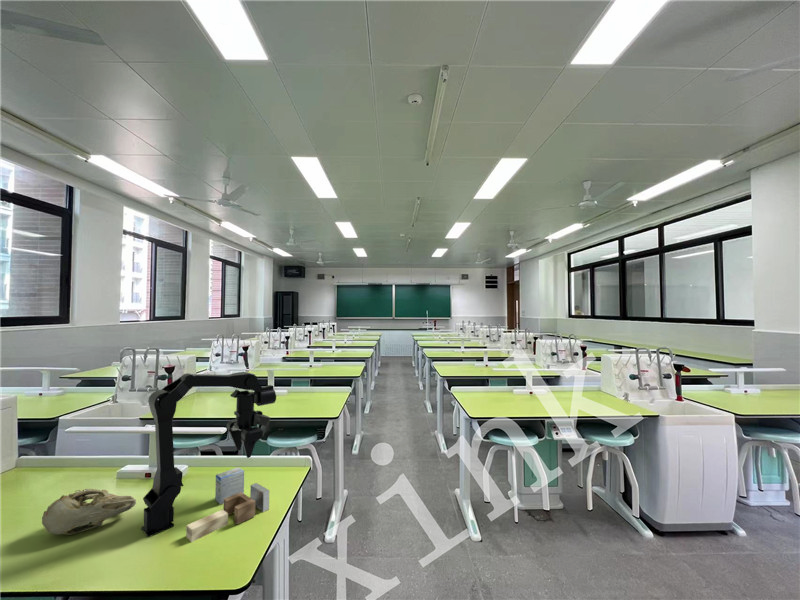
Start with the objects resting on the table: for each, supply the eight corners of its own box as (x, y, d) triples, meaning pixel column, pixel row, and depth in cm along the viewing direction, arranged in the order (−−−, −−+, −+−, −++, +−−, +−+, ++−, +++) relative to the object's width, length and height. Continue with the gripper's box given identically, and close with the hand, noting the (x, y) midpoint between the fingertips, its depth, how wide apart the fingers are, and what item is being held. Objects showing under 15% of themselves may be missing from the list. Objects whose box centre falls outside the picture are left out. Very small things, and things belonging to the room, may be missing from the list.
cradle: (237, 524, 102) (237, 508, 102) (223, 513, 107) (223, 499, 108) (255, 515, 106) (255, 501, 106) (240, 506, 112) (240, 491, 112)
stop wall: (263, 512, 109) (263, 492, 109) (250, 503, 114) (250, 485, 114) (269, 509, 110) (269, 490, 111) (255, 501, 115) (256, 482, 116)
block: (191, 543, 94) (191, 529, 95) (186, 538, 97) (186, 525, 97) (227, 525, 102) (228, 513, 103) (222, 521, 104) (222, 509, 105)
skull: (119, 514, 113) (139, 520, 105) (32, 539, 96) (48, 549, 89) (123, 477, 116) (143, 480, 108) (39, 495, 99) (55, 501, 91)
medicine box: (238, 491, 122) (238, 466, 122) (244, 495, 119) (244, 470, 119) (214, 500, 116) (215, 474, 116) (220, 505, 113) (221, 478, 113)
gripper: (279, 409, 120) (277, 455, 119) (257, 400, 133) (256, 441, 133) (246, 415, 112) (244, 464, 111) (226, 405, 126) (225, 448, 125)
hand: (243, 453), depth 120 cm, fingers open, 9 cm apart
